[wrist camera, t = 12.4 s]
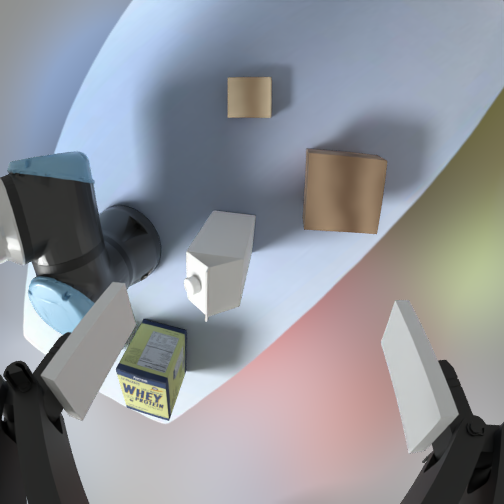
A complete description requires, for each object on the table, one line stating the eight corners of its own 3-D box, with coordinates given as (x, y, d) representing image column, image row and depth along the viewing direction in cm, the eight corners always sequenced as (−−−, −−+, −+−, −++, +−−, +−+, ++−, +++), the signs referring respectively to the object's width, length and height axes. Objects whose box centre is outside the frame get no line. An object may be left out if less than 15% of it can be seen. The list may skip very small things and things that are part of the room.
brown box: (302, 217, 42) (304, 229, 38) (306, 148, 38) (309, 153, 34) (368, 221, 41) (376, 234, 37) (377, 155, 37) (387, 160, 33)
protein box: (148, 361, 69) (126, 408, 55) (143, 317, 62) (114, 367, 48) (186, 372, 69) (169, 422, 55) (187, 328, 62) (165, 383, 48)
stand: (231, 117, 41) (227, 117, 39) (231, 79, 39) (227, 77, 36) (271, 117, 41) (270, 117, 38) (271, 79, 38) (270, 77, 35)
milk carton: (256, 214, 48) (239, 277, 31) (251, 253, 51) (235, 326, 35) (213, 209, 49) (175, 267, 32) (211, 248, 52) (178, 317, 35)
